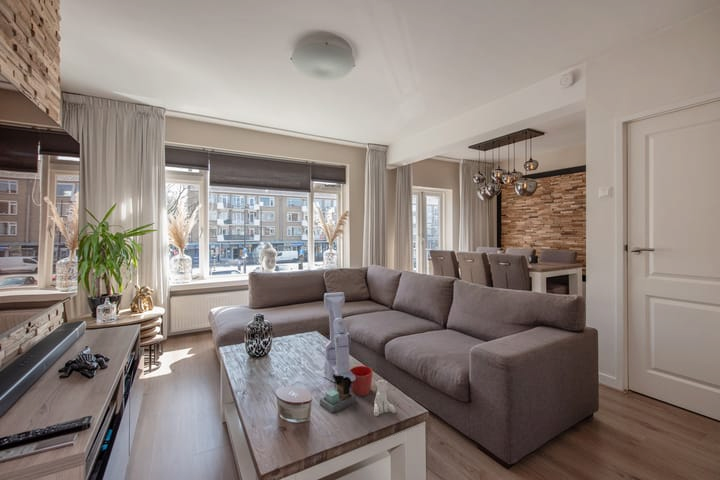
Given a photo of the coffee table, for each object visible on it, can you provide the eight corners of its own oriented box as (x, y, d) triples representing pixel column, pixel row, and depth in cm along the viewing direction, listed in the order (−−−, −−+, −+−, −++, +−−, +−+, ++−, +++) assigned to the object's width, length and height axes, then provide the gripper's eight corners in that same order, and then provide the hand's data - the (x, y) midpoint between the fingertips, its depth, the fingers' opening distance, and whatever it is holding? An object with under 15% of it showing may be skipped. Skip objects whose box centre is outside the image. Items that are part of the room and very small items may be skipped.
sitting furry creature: (374, 417, 125) (373, 387, 124) (367, 406, 133) (367, 378, 133) (396, 413, 127) (395, 383, 127) (388, 402, 135) (388, 374, 135)
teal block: (333, 401, 137) (333, 389, 136) (339, 404, 134) (339, 392, 134) (326, 404, 134) (325, 392, 134) (331, 408, 131) (331, 396, 131)
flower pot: (353, 399, 139) (352, 377, 139) (347, 387, 149) (347, 367, 149) (376, 395, 142) (375, 373, 141) (368, 384, 152) (368, 364, 152)
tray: (319, 404, 135) (319, 398, 135) (343, 394, 143) (343, 388, 143) (332, 413, 128) (332, 407, 128) (356, 401, 137) (356, 395, 137)
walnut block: (344, 392, 140) (343, 381, 140) (350, 396, 138) (349, 384, 137) (337, 396, 138) (336, 384, 138) (342, 399, 135) (342, 387, 135)
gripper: (325, 358, 140) (326, 389, 140) (346, 368, 129) (346, 401, 130) (338, 354, 145) (338, 383, 145) (358, 363, 134) (359, 395, 134)
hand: (343, 391), depth 138 cm, fingers closed on walnut block, 4 cm apart
